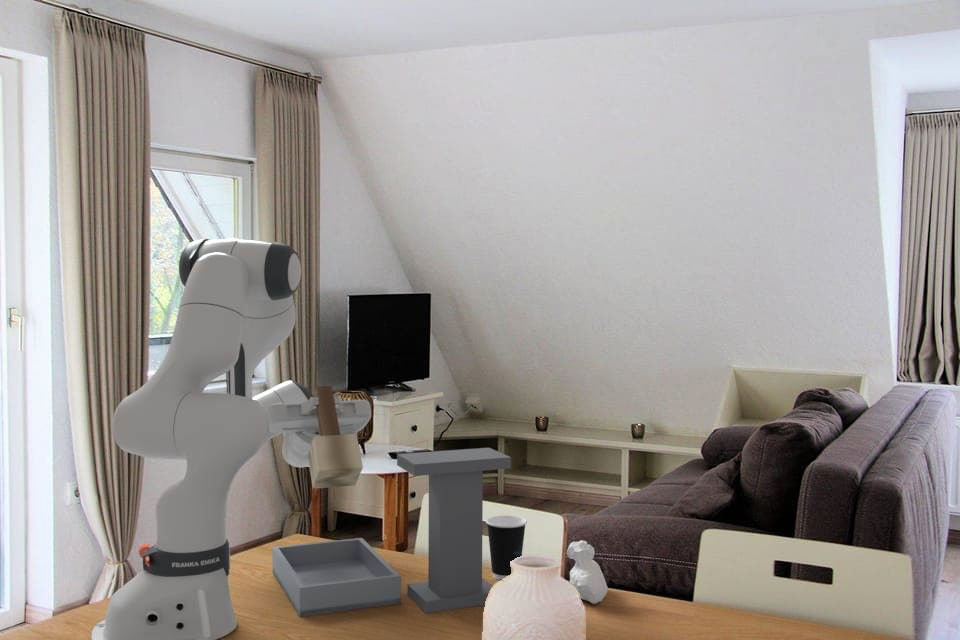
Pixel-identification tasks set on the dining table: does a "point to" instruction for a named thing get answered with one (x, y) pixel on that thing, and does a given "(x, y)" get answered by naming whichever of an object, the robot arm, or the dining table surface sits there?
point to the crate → (335, 576)
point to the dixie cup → (505, 542)
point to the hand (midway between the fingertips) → (326, 400)
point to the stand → (453, 525)
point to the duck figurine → (586, 572)
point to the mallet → (332, 447)
